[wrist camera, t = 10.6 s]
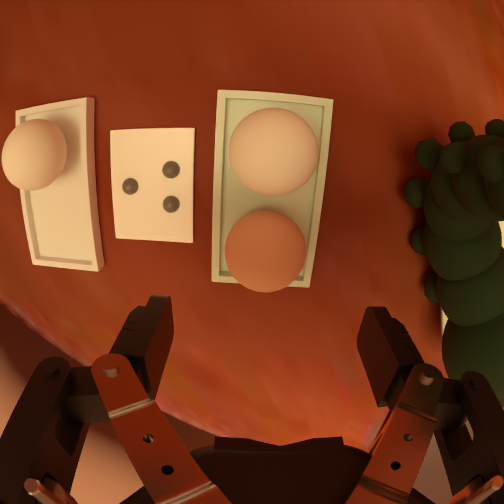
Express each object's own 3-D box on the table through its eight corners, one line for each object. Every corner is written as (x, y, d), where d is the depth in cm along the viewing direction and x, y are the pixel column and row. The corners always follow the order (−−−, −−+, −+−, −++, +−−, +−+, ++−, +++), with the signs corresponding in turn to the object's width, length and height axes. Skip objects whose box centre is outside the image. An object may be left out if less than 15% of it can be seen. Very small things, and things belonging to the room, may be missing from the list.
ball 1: (29, 120, 18) (-14, 128, 14) (79, 112, 18) (37, 116, 14) (32, 182, 20) (-8, 200, 16) (81, 180, 20) (42, 199, 16)
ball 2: (234, 106, 18) (226, 103, 14) (314, 113, 18) (332, 112, 14) (230, 182, 20) (221, 203, 16) (306, 188, 20) (320, 210, 16)
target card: (113, 129, 19) (106, 131, 18) (195, 127, 20) (192, 128, 18) (118, 235, 23) (112, 241, 22) (194, 239, 23) (191, 246, 22)
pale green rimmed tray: (220, 91, 18) (217, 89, 17) (329, 100, 18) (333, 99, 17) (213, 273, 24) (211, 281, 23) (307, 279, 24) (309, 287, 23)
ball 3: (229, 198, 21) (221, 224, 16) (305, 203, 21) (318, 230, 16) (226, 266, 23) (219, 305, 18) (296, 270, 23) (305, 310, 18)
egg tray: (24, 109, 18) (15, 110, 17) (94, 97, 18) (86, 97, 17) (40, 258, 23) (33, 264, 22) (104, 264, 24) (98, 271, 22)
